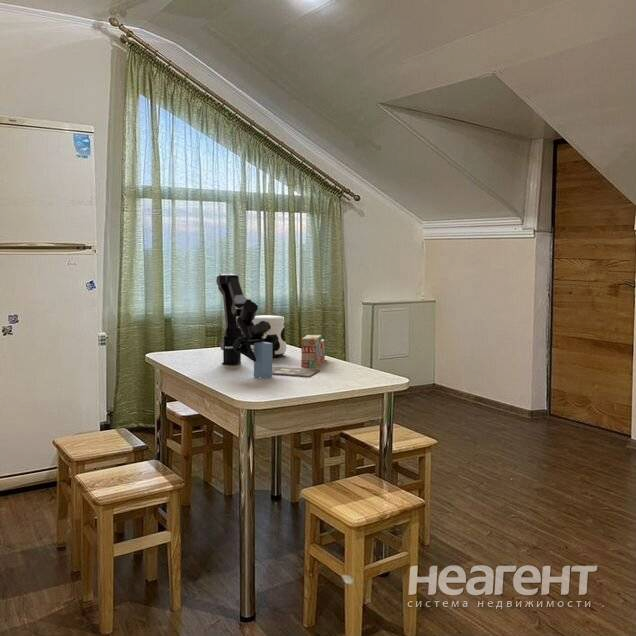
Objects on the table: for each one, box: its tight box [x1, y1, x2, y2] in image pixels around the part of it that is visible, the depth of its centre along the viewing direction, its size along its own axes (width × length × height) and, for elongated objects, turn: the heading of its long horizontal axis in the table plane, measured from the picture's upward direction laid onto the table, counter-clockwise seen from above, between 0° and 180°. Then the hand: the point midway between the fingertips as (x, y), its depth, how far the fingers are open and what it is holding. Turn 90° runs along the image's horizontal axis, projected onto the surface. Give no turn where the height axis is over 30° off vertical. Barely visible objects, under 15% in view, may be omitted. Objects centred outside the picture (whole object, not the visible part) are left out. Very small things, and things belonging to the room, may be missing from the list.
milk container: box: [250, 314, 287, 357], centre depth 298 cm, size 17×17×18 cm
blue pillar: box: [253, 342, 273, 379], centre depth 248 cm, size 5×5×13 cm
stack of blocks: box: [300, 334, 326, 368], centre depth 281 cm, size 21×6×12 cm, turn 169°
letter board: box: [272, 366, 321, 378], centre depth 258 cm, size 20×14×1 cm
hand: (265, 359), depth 247 cm, fingers open, 9 cm apart
